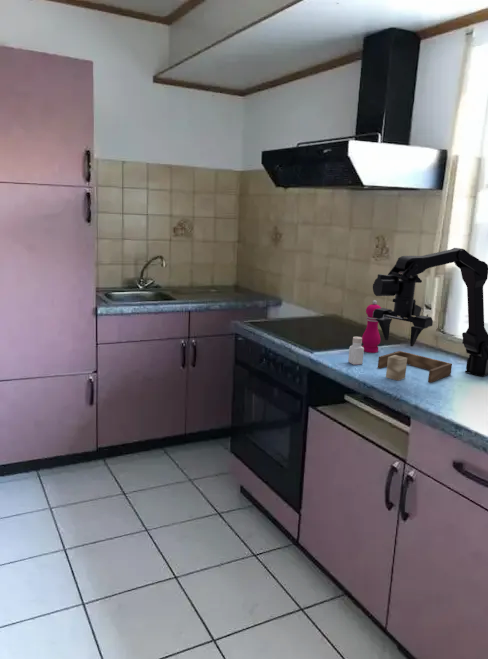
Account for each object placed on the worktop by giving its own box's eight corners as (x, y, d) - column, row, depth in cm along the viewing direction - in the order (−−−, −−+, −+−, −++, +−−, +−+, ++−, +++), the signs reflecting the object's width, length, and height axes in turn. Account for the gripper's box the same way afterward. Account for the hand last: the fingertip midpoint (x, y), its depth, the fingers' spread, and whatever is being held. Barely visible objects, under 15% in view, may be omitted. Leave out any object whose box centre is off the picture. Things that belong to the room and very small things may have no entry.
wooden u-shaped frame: (450, 374, 190) (452, 363, 189) (430, 382, 180) (432, 370, 179) (398, 361, 204) (399, 350, 203) (377, 367, 194) (378, 356, 193)
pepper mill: (364, 347, 222) (368, 298, 217) (381, 350, 218) (387, 300, 214) (357, 351, 216) (362, 300, 211) (375, 354, 212) (381, 302, 208)
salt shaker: (357, 361, 201) (359, 336, 199) (363, 364, 197) (365, 338, 195) (347, 362, 199) (349, 336, 197) (353, 365, 196) (355, 339, 194)
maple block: (405, 378, 184) (407, 357, 182) (397, 380, 181) (400, 360, 179) (392, 374, 187) (395, 354, 185) (385, 377, 184) (388, 356, 182)
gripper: (443, 298, 177) (437, 346, 180) (392, 290, 190) (387, 334, 193) (426, 301, 169) (420, 351, 173) (374, 292, 182) (369, 338, 185)
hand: (399, 343), depth 181 cm, fingers open, 9 cm apart
